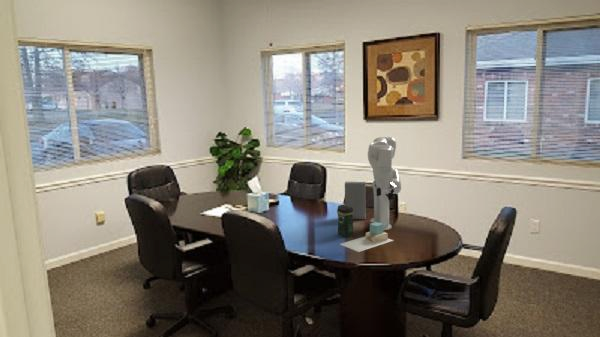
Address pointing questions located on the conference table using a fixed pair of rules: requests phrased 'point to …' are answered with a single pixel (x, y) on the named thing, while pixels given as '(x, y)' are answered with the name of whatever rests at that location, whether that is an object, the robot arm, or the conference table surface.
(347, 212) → the coffee jar
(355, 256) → the conference table surface
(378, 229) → the teal cube
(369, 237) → the maple block
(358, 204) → the cassette tape recorder
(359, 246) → the felt mat
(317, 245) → the conference table surface
